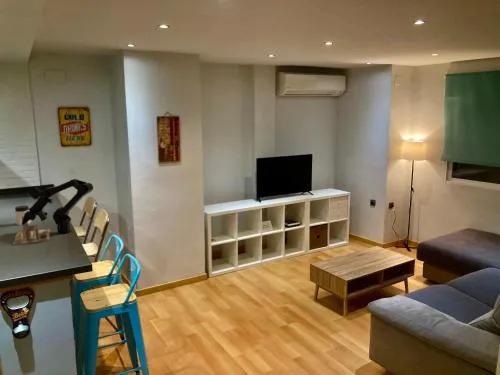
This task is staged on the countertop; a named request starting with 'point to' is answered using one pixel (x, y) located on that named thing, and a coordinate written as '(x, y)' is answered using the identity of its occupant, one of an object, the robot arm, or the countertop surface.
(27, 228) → the tunnel
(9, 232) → the countertop surface
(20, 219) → the jar
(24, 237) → the knobbed beige slab
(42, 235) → the board
